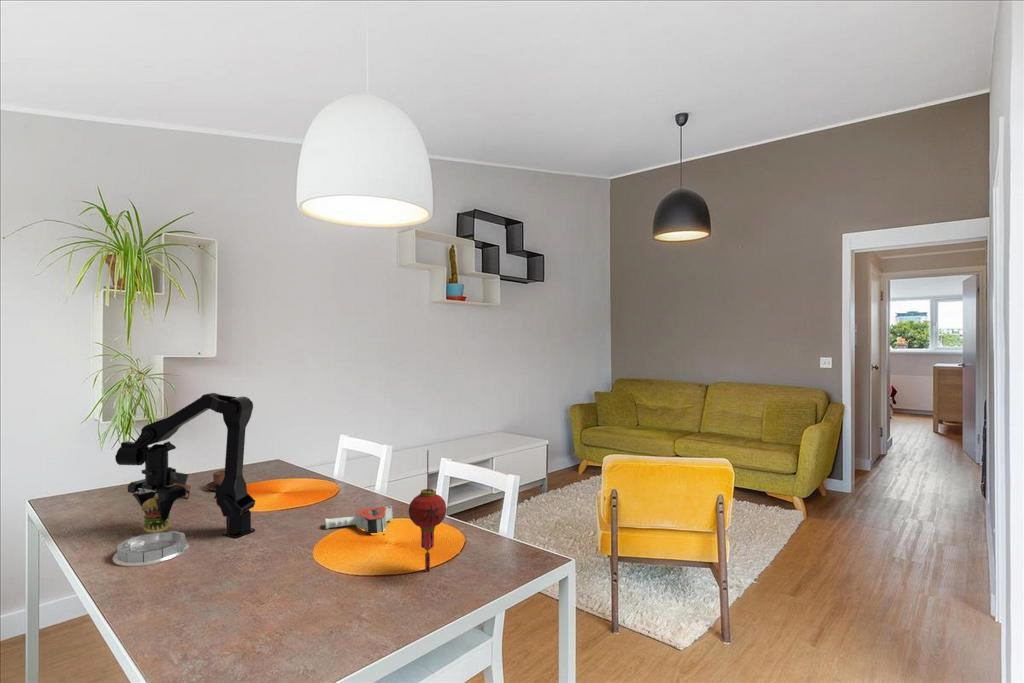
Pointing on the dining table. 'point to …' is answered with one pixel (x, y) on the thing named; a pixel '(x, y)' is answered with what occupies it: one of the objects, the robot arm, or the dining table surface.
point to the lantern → (427, 516)
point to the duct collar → (150, 548)
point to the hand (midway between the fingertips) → (157, 518)
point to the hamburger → (154, 517)
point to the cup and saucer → (216, 479)
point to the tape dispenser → (365, 519)
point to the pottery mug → (185, 487)
